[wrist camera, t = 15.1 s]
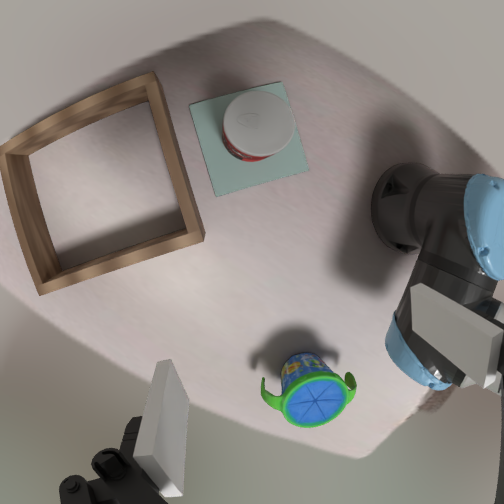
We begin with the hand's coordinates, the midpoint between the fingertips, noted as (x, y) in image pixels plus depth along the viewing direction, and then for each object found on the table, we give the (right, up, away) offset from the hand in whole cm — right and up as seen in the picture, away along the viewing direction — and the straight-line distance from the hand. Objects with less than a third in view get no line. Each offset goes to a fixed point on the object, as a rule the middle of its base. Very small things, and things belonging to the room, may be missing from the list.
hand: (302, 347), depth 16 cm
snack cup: (+6, -16, +38) cm, 41 cm away
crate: (-25, +14, +28) cm, 40 cm away
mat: (-3, +21, +28) cm, 36 cm away
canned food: (-3, +21, +28) cm, 35 cm away
